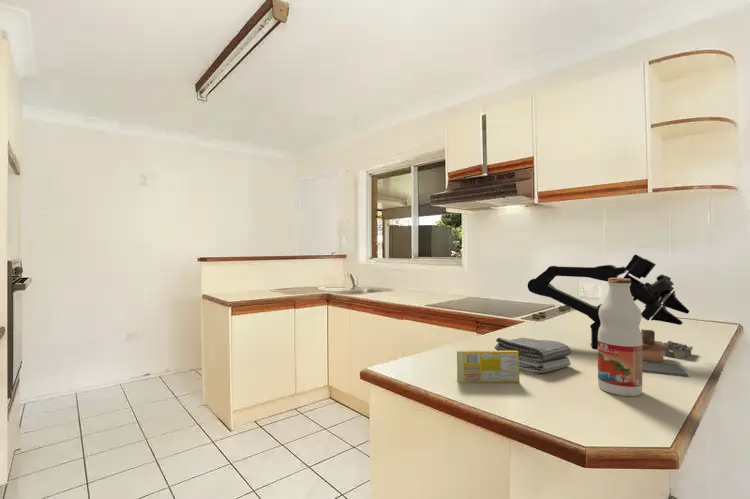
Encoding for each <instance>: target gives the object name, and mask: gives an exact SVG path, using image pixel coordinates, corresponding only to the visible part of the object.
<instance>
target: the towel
mask: <svg viewBox="0 0 750 499" xmlns="http://www.w3.org/2000/svg"><path fill="white" fill-rule="evenodd" d="M495 341H496V345H495V346H494V349H495V351H518V352H519V370H522V371H526V372H530V373H533V374H544V373H545V374H546V373H550V372H552V371H556V370H561V369H563V368H567V367H569V366H571V361H570V360H571V359H570V358H569V357H568V356H570V355H571V354H572V350H571V348H570V347H569V345H567V344H565V343H563V342H560V341H556V340H548V339H534V338H528V337H519V338H515V339H514V338H512V339H510V340H509V339H506V338H503V337H497V338H496V340H495Z"/></svg>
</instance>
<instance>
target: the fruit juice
mask: <svg viewBox="0 0 750 499" xmlns="http://www.w3.org/2000/svg"><path fill="white" fill-rule="evenodd" d="M607 284H608V286H609V288H608V292H607V295H606V297H605V299H604V301H603V303H601V304H602V305H601V306H600V308H599V318H600V322H601V325H600V327H599V330H598V349H597V385H598V387H599V389H600V390H602V391H604V392H606V393H609V394H612V395H616V396H623V397H638V396H640V395H642V392H643V372H642V361H643V360H642V334H641V329H640V325H641V321H642V318H643V317H642V315H641V313H642V311H641V309H640V308H639V306H638V305H637V303H636V301H634V300H633V298H634V297H632V295H631V292H630V286H631V279H628V278H624V277H620V278H619V277H618V278H608V282H607Z"/></svg>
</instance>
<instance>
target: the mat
mask: <svg viewBox="0 0 750 499" xmlns="http://www.w3.org/2000/svg"><path fill="white" fill-rule="evenodd" d="M642 371H645V372H644V373H650V372H653V373H652V374H660V373H661V375H669V374H672V375H671V376H678V375H684V376H683V377H687V376H688V377H689V374H688V373H687V372H686V371H685V370H684V369H683V368H682V367H681V366H679V365H678V364H674V363H666V362H665V363H663V362H649V361H643V360H642Z"/></svg>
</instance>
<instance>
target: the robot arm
mask: <svg viewBox="0 0 750 499" xmlns="http://www.w3.org/2000/svg"><path fill="white" fill-rule="evenodd" d="M655 266H657V265H656V263H654V262H653V261H651V260H649V259H647V258H645V257H644V258H643V257H642V256H640V255H638V254H634V255H633V256H632V257H631V259H630V260H629V263H628V264H627V265H626V266H620V267H617V266H616V265H613V264H605V265H597V266H590V267H589V266H588V267H587V266H586V267H585V266H558V265H550V266H548V268H546V270H544V271H543V272H542V273H540V274H539V275H537V277H536V278H532V279H530V280H529V281H528V282H527V289H528V291H529V292H530V293H531V294H535V295H539V296H542V297H547V298H551V299H553V300H554V301H557V302H559V303H561V304H563V305H565V306H567V307H569V308H572V309H573V310H575V311H577V312H579V313H581V314H584V315H586V316H588V318H589V319H591V320H592V321H593V322H592V323H591V324H590V330H591V331H590V334H591V335H590V342H591V343H590V347H591V349H597V350H598V330H599V327H600V325H601V322H600V318H599V308H600V306H601V305H602V304H603V303H600V304H598V305H597V306H596V305H592V304H590V303H589V302H586V301H584V300H582V299H580V298H578V297H575V296H573V295H572V294H569V293H567V292H564V291H562V290H561V289H558V288H557V287H555V286H553V284H551V282H552V281H553V280H554V279H555V278H556V277H573V278H574V277H575V278H589V279H594V280H598V281H602V282H607V283H608V278H621V277H619V276H621V275H623V274H625V273H626V274H625V275H624V276H623V278H628V279H631V286H630V292H631V295H632V298H633V300H634V302H637V301H638V302H640V303H642V304H643V305H645V306H644V309H643V311H641V316H642V317H641V318H642V319H643V320H646V321H649V320H650V321H657V322H662V323H663V322H664V323H669V324H673V325H679V326H681V325H682V324H684V322H683V321H682V320H681V319H680V318H678V317H676V316H675V315H674V314H673V313H672V312H670V311H668V310H667V308H668V309H672V310H674V311H677V312H680V313H684V314H689V313H690V310H689V309H688V308H687V307H686V306H685V305H684V304H683V303H682V302H681V301H680V300H679V299H678V298H677V297H676V291H675V290H674V289H675V288H674V287H673V286H674V285H675V284H674V282H673V281H672V280H671V279H672V278H671V277H669V276H668V275H664V274H660V275H658V276H656V281H654V282H653V283H649V282H645V283H644V282H642V281H640V280H641V278H644V279H646V277H648V275H649V274H650V272H651V271H653V269H654V268H655ZM631 275H632V276H631ZM636 278H637V279H636Z"/></svg>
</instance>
